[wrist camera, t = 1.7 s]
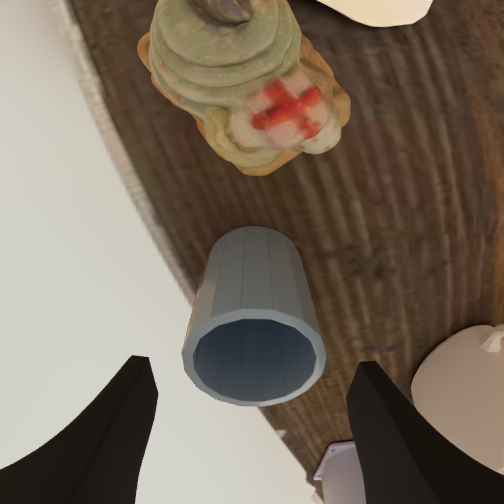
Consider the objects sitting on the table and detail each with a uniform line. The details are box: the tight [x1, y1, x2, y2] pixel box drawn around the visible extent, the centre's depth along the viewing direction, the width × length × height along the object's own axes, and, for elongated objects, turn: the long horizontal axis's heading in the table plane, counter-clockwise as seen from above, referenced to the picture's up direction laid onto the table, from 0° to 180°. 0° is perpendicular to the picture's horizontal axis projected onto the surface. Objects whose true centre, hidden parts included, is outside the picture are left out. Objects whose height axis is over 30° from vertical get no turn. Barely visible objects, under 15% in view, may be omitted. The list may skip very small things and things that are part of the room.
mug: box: [411, 324, 504, 475], centre depth 16 cm, size 10×12×12 cm
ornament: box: [137, 0, 351, 176], centre depth 8 cm, size 8×6×10 cm
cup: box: [182, 226, 327, 406], centre depth 14 cm, size 5×5×7 cm
